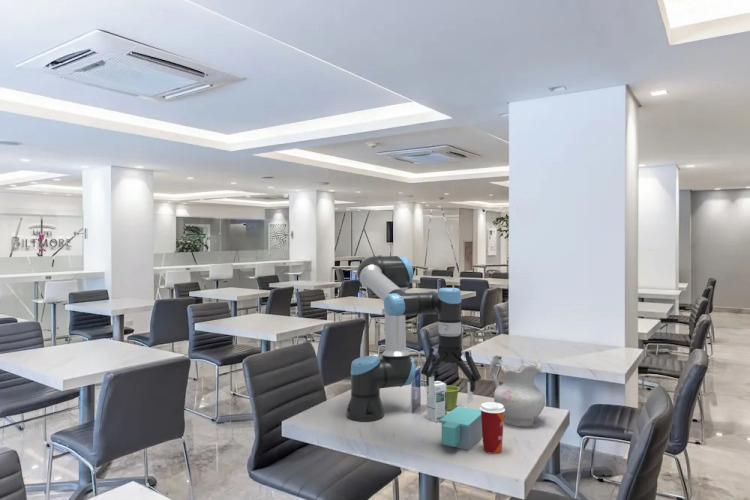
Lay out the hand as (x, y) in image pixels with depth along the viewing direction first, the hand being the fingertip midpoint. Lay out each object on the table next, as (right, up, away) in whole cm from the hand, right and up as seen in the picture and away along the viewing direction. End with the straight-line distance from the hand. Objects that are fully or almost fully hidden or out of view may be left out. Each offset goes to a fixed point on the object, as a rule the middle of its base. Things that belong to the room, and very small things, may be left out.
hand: (450, 398), depth 169 cm
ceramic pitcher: (+30, -18, +31) cm, 47 cm away
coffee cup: (+14, -18, +2) cm, 23 cm away
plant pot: (+6, -18, +47) cm, 51 cm away
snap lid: (+5, -15, +8) cm, 17 cm away
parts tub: (+6, -18, +10) cm, 21 cm away
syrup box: (-1, -18, +33) cm, 38 cm away
